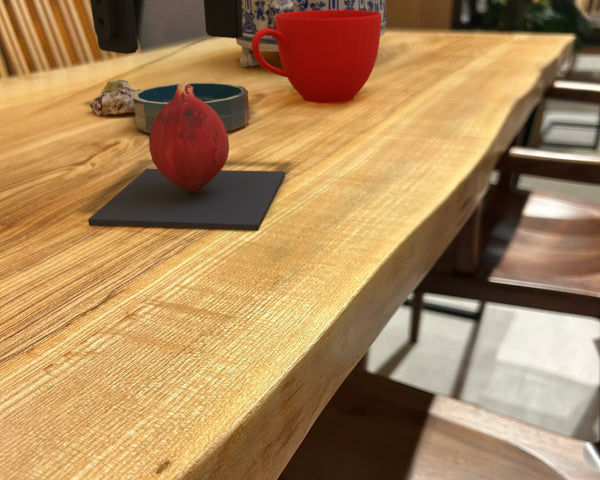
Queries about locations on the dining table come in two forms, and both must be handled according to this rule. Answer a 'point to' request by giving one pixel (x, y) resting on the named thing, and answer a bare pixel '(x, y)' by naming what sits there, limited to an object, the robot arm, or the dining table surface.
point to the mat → (193, 202)
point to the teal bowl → (218, 96)
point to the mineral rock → (114, 99)
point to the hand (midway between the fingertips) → (175, 43)
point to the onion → (188, 141)
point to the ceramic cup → (324, 51)
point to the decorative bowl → (267, 3)
